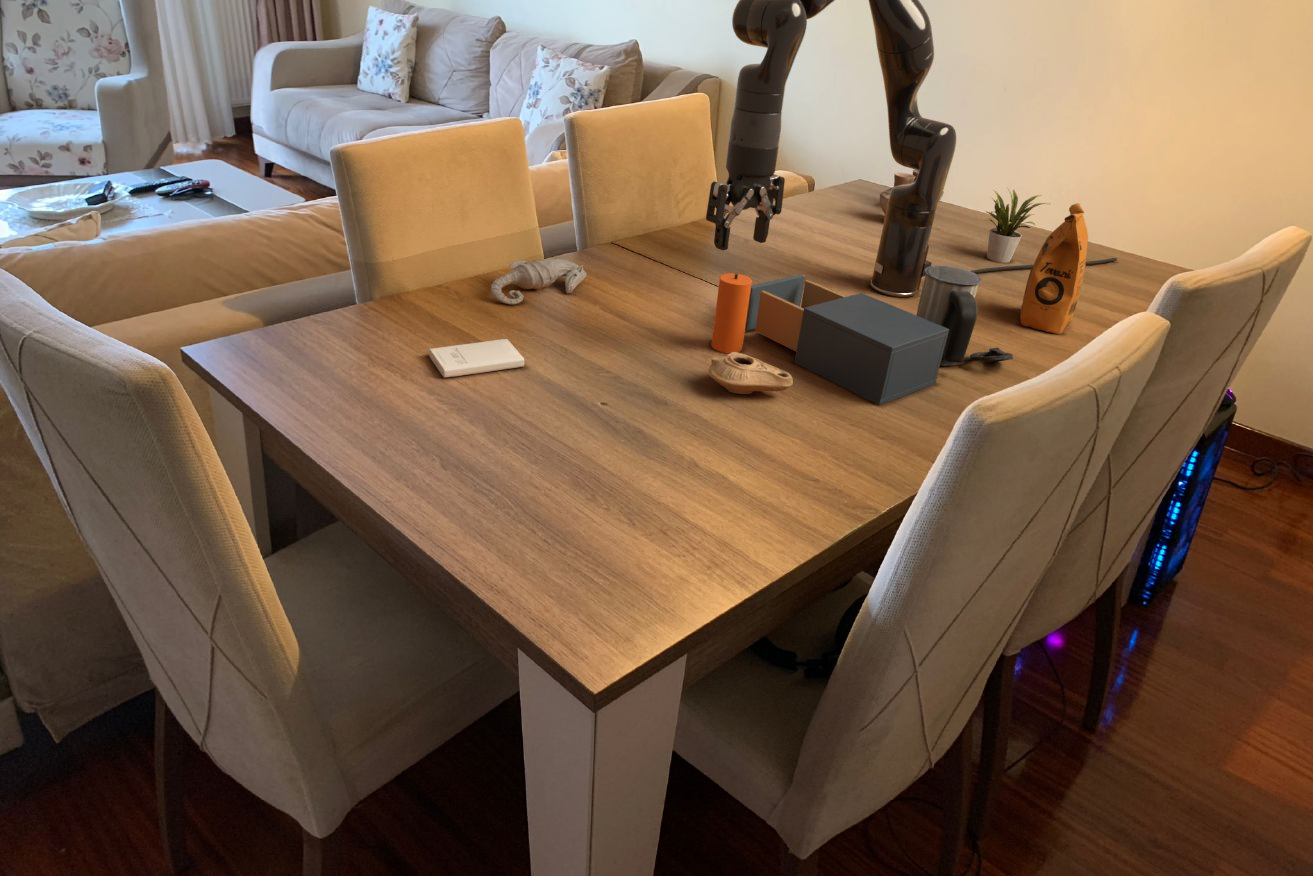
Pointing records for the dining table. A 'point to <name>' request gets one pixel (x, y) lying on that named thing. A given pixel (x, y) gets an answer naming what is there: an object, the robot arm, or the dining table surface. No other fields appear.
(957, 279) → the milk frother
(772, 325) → the drawer
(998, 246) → the house plant
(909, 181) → the pottery
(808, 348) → the cabinet
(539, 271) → the seahorse
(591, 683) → the dining table surface
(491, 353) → the hard drive
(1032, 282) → the coffee package
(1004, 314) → the dining table surface
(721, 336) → the candle
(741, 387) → the pottery oil lamp
